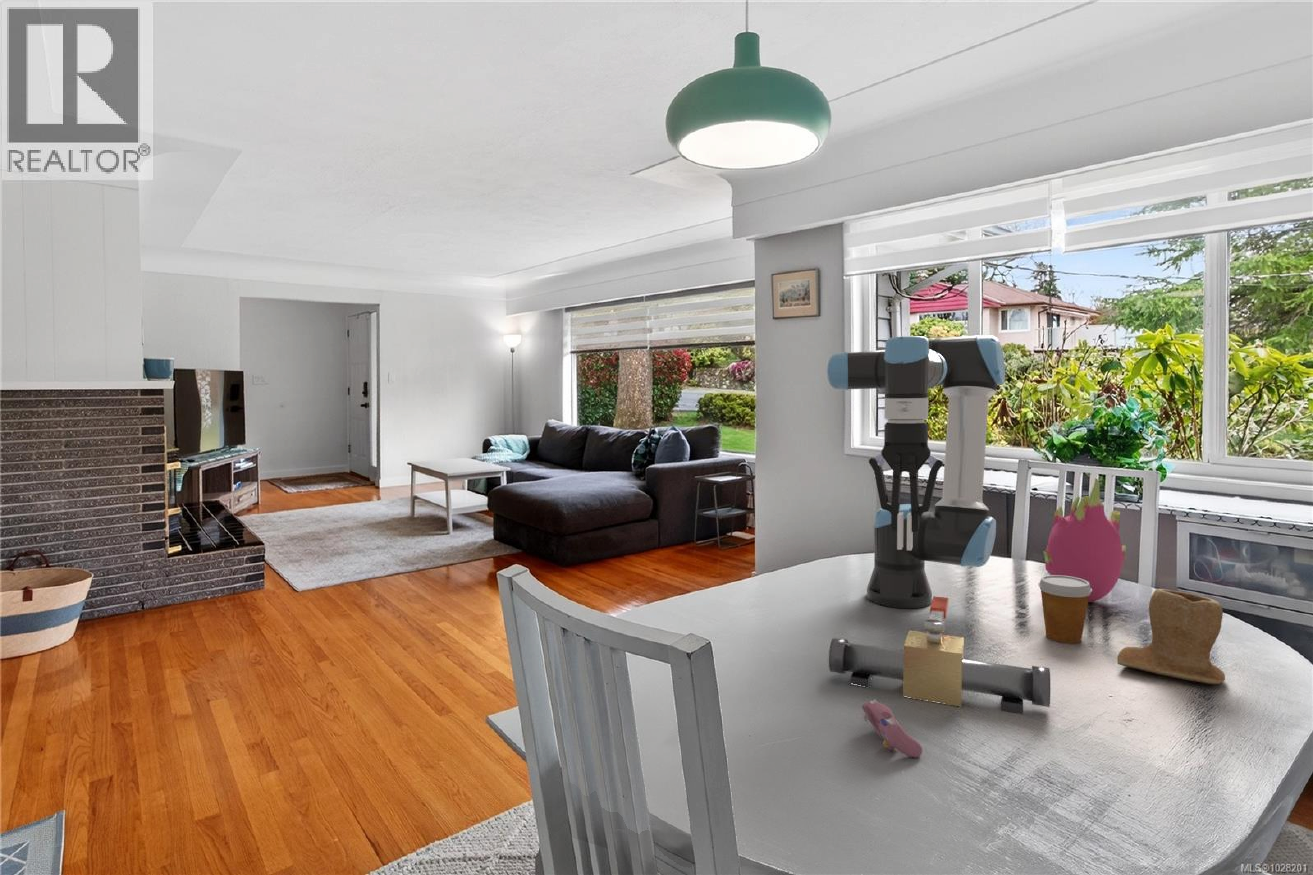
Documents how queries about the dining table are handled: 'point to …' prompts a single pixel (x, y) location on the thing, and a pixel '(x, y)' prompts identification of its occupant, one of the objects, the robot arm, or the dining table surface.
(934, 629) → the lever
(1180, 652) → the tan flared piece
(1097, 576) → the pink dragon fruit
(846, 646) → the valve pipe
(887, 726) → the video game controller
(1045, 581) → the disposable coffee cup
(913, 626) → the dining table surface
